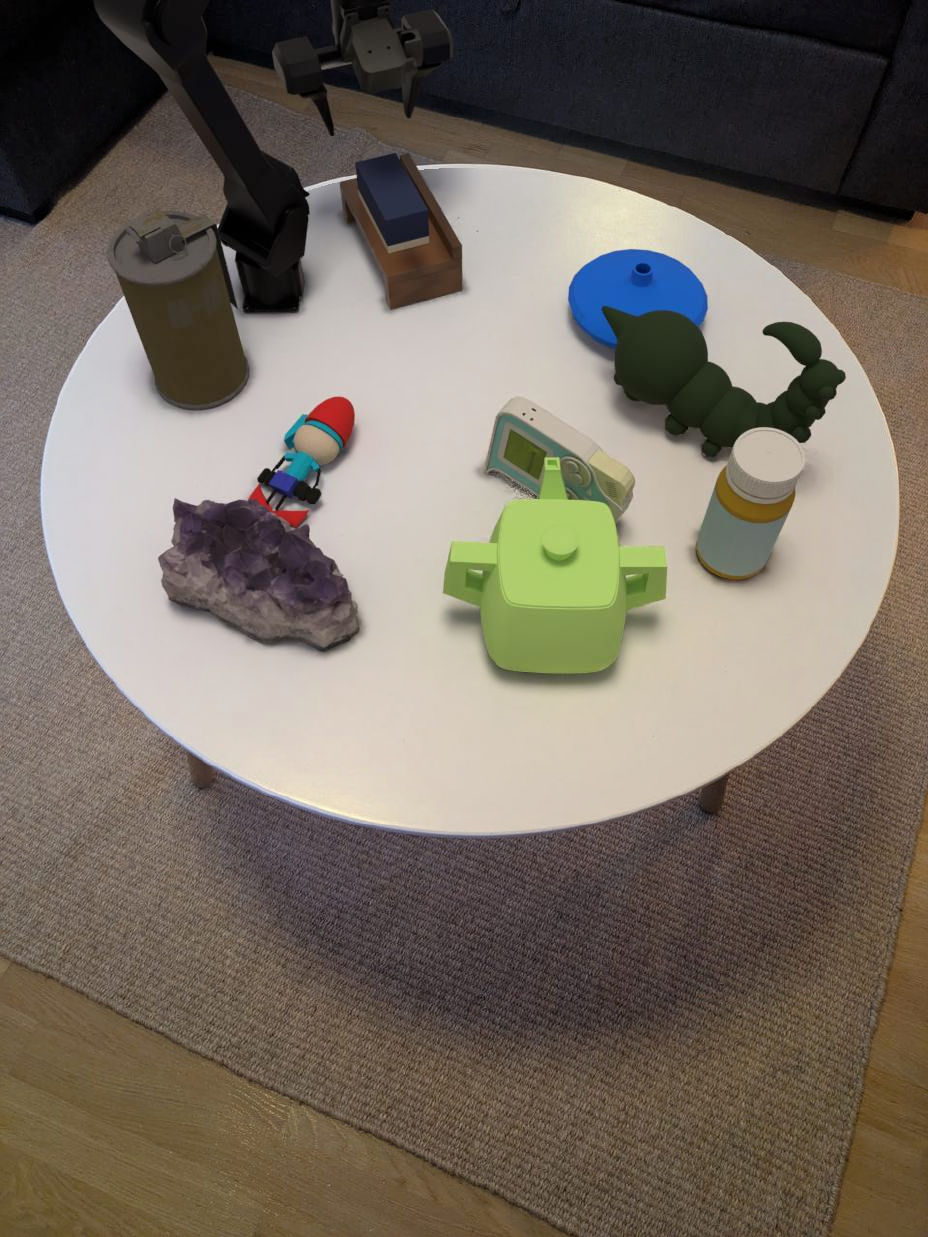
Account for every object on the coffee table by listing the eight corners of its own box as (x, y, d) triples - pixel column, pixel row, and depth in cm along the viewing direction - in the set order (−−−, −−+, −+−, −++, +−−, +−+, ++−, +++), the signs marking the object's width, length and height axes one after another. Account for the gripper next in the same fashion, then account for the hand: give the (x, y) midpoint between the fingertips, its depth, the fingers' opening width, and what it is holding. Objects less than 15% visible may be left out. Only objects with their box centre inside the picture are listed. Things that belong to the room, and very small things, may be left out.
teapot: (449, 519, 101) (446, 432, 90) (648, 523, 101) (670, 437, 89) (441, 682, 92) (437, 607, 80) (660, 687, 91) (687, 613, 80)
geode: (391, 577, 98) (380, 529, 88) (336, 680, 94) (319, 641, 84) (211, 503, 101) (183, 449, 92) (151, 599, 97) (115, 553, 88)
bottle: (771, 535, 100) (816, 434, 87) (759, 591, 96) (803, 495, 84) (703, 516, 101) (737, 414, 88) (687, 571, 98) (720, 474, 85)
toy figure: (307, 538, 102) (381, 424, 106) (292, 514, 97) (369, 396, 102) (248, 513, 104) (322, 402, 109) (230, 488, 100) (308, 373, 104)
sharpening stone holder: (390, 309, 116) (386, 265, 111) (343, 215, 125) (337, 169, 120) (462, 290, 118) (462, 245, 113) (411, 198, 127) (408, 152, 121)
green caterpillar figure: (802, 457, 107) (612, 337, 113) (879, 331, 90) (650, 198, 96) (757, 513, 103) (563, 386, 109) (828, 392, 87) (594, 250, 93)
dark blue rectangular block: (429, 243, 115) (428, 209, 111) (388, 253, 114) (385, 220, 110) (398, 186, 120) (395, 152, 117) (358, 196, 120) (354, 162, 116)
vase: (709, 282, 119) (722, 232, 112) (694, 378, 111) (707, 329, 105) (578, 262, 120) (584, 211, 114) (554, 355, 113) (559, 306, 107)
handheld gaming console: (602, 552, 101) (481, 473, 104) (616, 533, 103) (496, 455, 105) (630, 491, 91) (496, 405, 94) (646, 471, 93) (513, 387, 95)
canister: (187, 425, 108) (134, 274, 90) (137, 371, 112) (77, 217, 94) (271, 377, 111) (235, 223, 94) (219, 326, 115) (176, 170, 98)
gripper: (289, 41, 96) (311, 185, 109) (471, 2, 99) (471, 147, 113) (259, -17, 101) (283, 128, 115) (432, -52, 105) (436, 92, 118)
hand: (369, 125), depth 115 cm, fingers open, 9 cm apart
